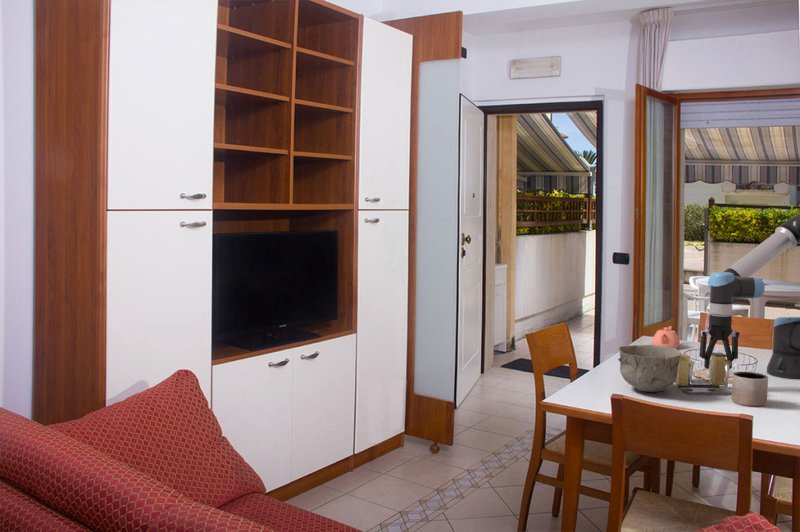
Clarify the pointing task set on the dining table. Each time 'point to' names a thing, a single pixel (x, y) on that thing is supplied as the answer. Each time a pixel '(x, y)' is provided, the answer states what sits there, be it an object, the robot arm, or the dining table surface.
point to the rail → (699, 386)
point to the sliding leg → (719, 369)
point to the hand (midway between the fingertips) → (717, 377)
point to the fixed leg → (684, 371)
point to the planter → (749, 389)
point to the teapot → (666, 338)
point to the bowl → (649, 366)
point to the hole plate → (707, 391)
